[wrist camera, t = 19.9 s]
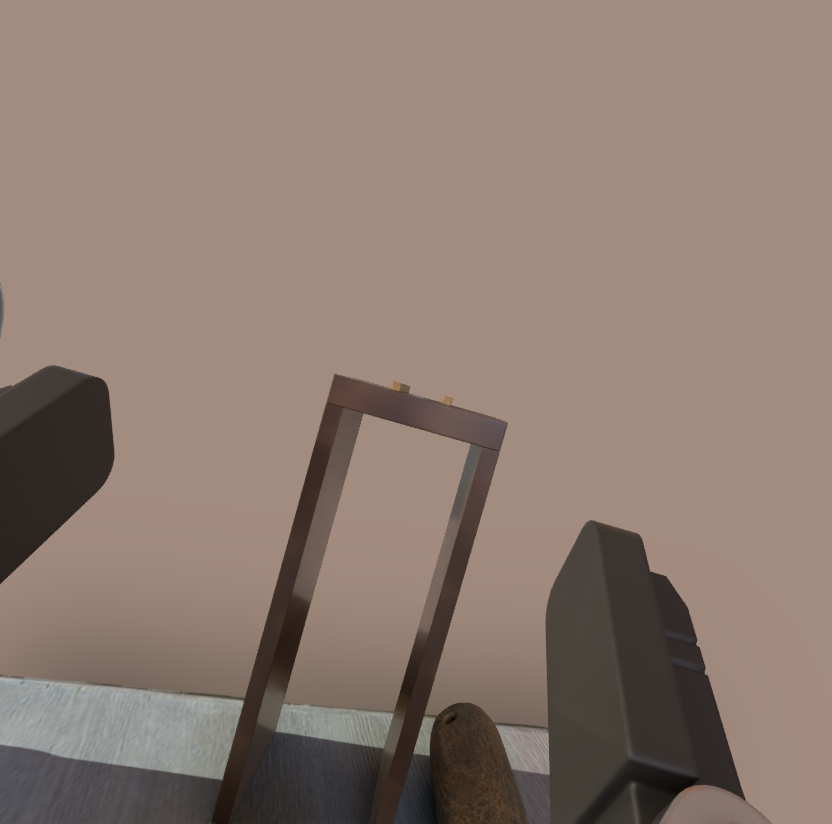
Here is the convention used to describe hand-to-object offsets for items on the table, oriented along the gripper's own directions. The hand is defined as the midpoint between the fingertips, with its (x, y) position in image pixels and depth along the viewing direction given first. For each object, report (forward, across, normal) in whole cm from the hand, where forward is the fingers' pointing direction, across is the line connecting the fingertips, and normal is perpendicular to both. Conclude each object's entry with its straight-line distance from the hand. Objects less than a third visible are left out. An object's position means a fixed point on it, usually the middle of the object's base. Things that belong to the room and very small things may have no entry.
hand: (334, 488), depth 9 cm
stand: (+14, 0, +43) cm, 45 cm away
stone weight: (+15, -12, +44) cm, 48 cm away
